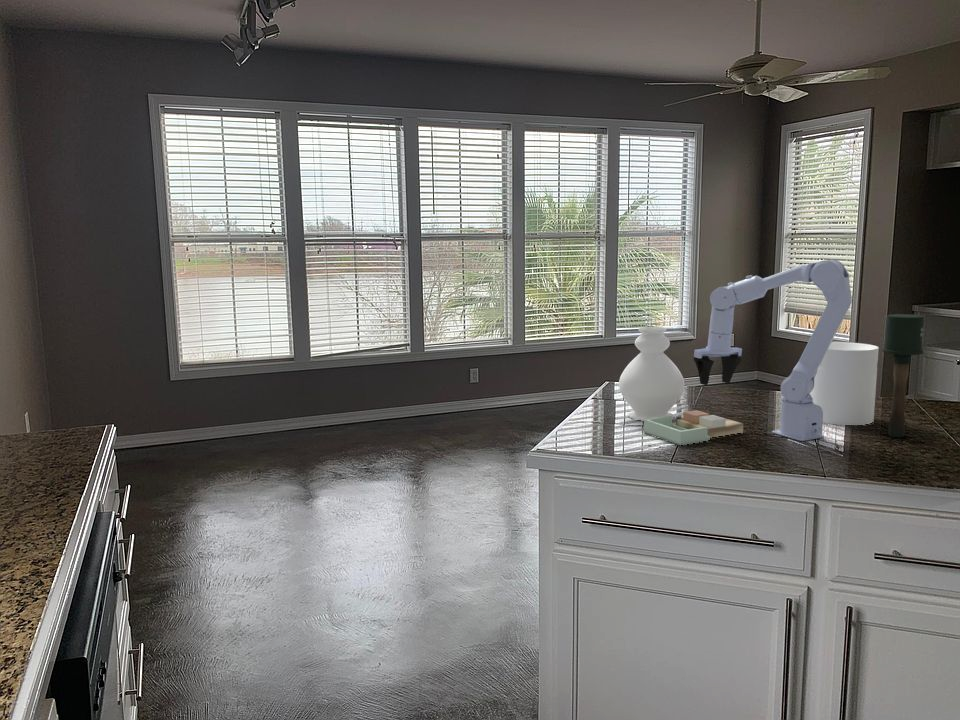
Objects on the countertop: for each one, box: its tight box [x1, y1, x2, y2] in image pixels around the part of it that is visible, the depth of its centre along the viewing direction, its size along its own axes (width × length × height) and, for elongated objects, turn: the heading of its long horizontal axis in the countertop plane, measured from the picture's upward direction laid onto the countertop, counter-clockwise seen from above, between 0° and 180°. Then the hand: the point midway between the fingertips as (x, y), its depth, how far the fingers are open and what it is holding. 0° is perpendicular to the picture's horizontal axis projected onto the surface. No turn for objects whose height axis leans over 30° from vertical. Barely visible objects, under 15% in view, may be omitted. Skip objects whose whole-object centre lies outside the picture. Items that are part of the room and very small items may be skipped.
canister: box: [810, 341, 880, 426], centre depth 198 cm, size 16×16×20 cm
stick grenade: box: [882, 313, 925, 439], centre depth 179 cm, size 8×9×30 cm
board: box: [676, 418, 744, 439], centre depth 189 cm, size 11×12×2 cm
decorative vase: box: [618, 326, 685, 422], centre depth 204 cm, size 18×18×25 cm
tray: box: [643, 416, 711, 447], centre depth 184 cm, size 14×9×4 cm, turn 26°
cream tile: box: [699, 414, 727, 428], centre depth 185 cm, size 4×4×2 cm
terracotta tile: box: [682, 409, 710, 423], centre depth 191 cm, size 4×4×2 cm
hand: (714, 383), depth 194 cm, fingers open, 7 cm apart
